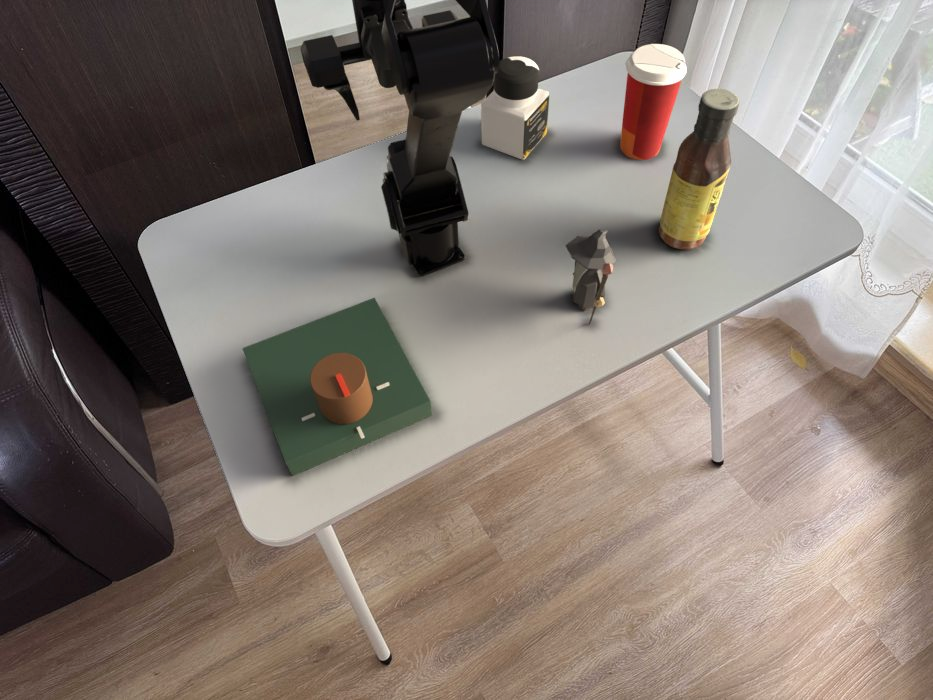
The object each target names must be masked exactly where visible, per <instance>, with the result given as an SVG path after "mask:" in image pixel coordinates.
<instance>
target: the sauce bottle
mask: <svg viewBox="0 0 933 700" xmlns="http://www.w3.org/2000/svg"><path fill="white" fill-rule="evenodd" d="M739 105H740V99H739V97H738V95H736V94H735V93H734V92H732V91H730V90H727V89H725V88H712V89H708V90H706V91H704V92H703V93H702V95H701V96H700V99H699V103H698V108H697V109H698V115H697V118H696V122H695V124H694V125H693V131H692V132H691V133H689V135H687V136H686V137H685V138H684V139H683V140H682V141H681V143H680V145H679V147H678V150H677V154H676V159H675V162H674V163H673V168H672V170H671V174H670V179H669V183H668V187H667V191H666V194H665V199H664V203H663V207H662V212H661V215H660V220H659V224H660V225H659V227H658V233H659V237H660V238H661V239H662V241H663V242H664V243H665V244H667V245H668V246H670V247H671V248H674V249H678V250H694V249H696V248H698V247H700V246H701V245H702V244H703V243H704V241H705V240H706V238H707V235H708V234H709V233H710V230H711V227H712V224H713V221H714V217H715V214H716V212H717V209H718V206H719V202H720V200H721V197H722V194H723V191H724V188H725V184H726V181H727V177H728V174H729V171H730V168H731V165H732V157H731V148H730V133H731V132H730V131H731V127H732V124H733V121H734V117H735V116H736V115H737V114H738V109H739Z"/></svg>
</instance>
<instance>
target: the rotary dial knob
mask: <svg viewBox="0 0 933 700" xmlns="http://www.w3.org/2000/svg"><path fill="white" fill-rule="evenodd" d="M310 383H311V387H312V389H313V392H314V394H315V397H316V400H317V402H318V405H319V407H320V410H321V412H322V414H323V416H324V417H325V418H326V419H328V420H329V421H331V422H333V423H336V424H350V423H354V422H356V421H358V420H360V419H361V418H363V417H364V416H365V415H366V414H367V413H368V411H369V410H370V408H371V405H372V400H373V398H372V392H371V388H370V385H369V381H368V377H367V373H366V369H365V366H364V364H363V363H362V361H361V360H360V359H359V358H357V357H356V356H354V355H351V354H347V353H335V354H331V355H328V356H326V357H324V358H323V359H321V360H320V361H319V362H318V363H317V364H316V365H315V366H314V368H313V370H312V372H311V375H310Z"/></svg>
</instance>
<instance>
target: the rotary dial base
mask: <svg viewBox="0 0 933 700" xmlns="http://www.w3.org/2000/svg"><path fill="white" fill-rule="evenodd" d="M242 351H243V355H244V357H245V360H246V362H247V366H248V369H249V370H250V373H251V375H252V378H253V382H254V383H255V387H256V389H257V392H258V394H259V397H260V400H261V402H262V405H263V407H264V410H265V413H266V416H267V418H268V421H269V423H270V426H271V428H272V432H273V435H274V437H275V439H276V442H277V445H278V447H279V450H280V452H281V456H282V458H283V461H284V463H285V465H286V467H287V469H288V471H289V473H290V475H291V476H292V477H294V476H296V475H298V474H300V473H303V472H305V471H307V470H311V469H312V468H315V467H316V466H319V465H321V464H324V463H326V462H328V461H330V460H334V459H335V458H337V457H339V456H342V455H344V454H346V453H349V452H352V451H353V450H356V449H358V448H360V447H362V446H365V445H368V444H370V443H372V442H374V441H376V440H379V439H381V438H384V437H385V436H386V437H387V436H389V435H391V434H393V433H396V432H397V431H400V430H402V429H405V428H407V427H409V426H412V425H414V424H416V423H418V422H421V421H423V420H425V419H427V418H429V417H432V416H433V409H432V402H431V398H430V397H429V395H428V394H427V391H426V390H425V388H424V386H423V384H422V382H421V381H420V379H419V377H418V375H417V373H416V371H415V369H414V368H413V366H412V364H411V363H410V360H409V358H408V357H407V354H406V353H405V352H404V350H403V348H402V345H401V344H400V342H399V340H398V338H397V336H396V334H395V333H394V331H393V329H392V327H391V325H390V323H389V322H388V319H387V318H386V316H385V314H384V313H383V311H382V308H381V307H380V305H379V303H378V301H377V299H376V298H375V297H372V298H370V299H367V300H365V301H362V302H360V303H359V302H358V303H356V304H354V305H351V306H349V307H347V308H343V309H341V310H338V311H336V312H333V313H330V314H327V315H325V316H323V317H320V318H318V319H315V320H312V321H310V322H307V323H304V324H302V325H299V326H297V327H293V328H291V329H289V330H286V331H284V332H280V333H278V334H276V335H273V336H271V337H267V338H265V339H263V340H259V341H258V342H255V343H252V344H250V345H248V346H247V345H246V346H244V347H242ZM335 353H347V354H351V355H354V356H356V357H357V358H359V359H360V360H361V361H362V363H363V364H364V366H365V369H366V373H367V377H368V381H369V385H370V388H371V392H372V398H373V400H372V405H371V408H370V410H369V411H368V413H367V414H366V415H365V416H364V417H363V418H361V419H360V420H358V421H356V422H354V423H350V424H336V423H333V422H331V421H329V420H328V419H326V418H325V417H324V416H323V414H322V412H321V410H320V407H319V405H318V402H317V400H316V397H315V394H314V392H313V389H312V387H311V383H310V375H311V372H312V370H313V368H314V366H315V365H316V364H317V363H318V362H319V361H320V360H321V359H323V358H324V357H326V356H328V355H331V354H335Z"/></svg>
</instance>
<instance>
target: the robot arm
mask: <svg viewBox="0 0 933 700" xmlns="http://www.w3.org/2000/svg"><path fill="white" fill-rule="evenodd" d="M351 2H352V8H353V14H354V21H355V26H356V27H355V28H356V32H357V39H358V42H354V43H350V44H345V45H341V46H338V45H337V43H336V41H335V39H334V36H333V34H329V35H325V36H321V37H316V38H310V39H307V40H303V41H302V44H301V45H300V52H301V57H302V61H303V64H304V67H305V70H306V73H307V76H308V78H309V81H310V83H311V86H312V87H314V88H317V89H319V88H324V89H325V91H333V90H334V91H336V92H337V93H338V94H339V96H341V98H342V99H343V100H344V102H345V104H346V105H347V107H348V109H349V110H350V112H351V113H352V115H353V117H354V119H355V121H360V120H361V118H360V111H359V108H358V105H357V102H356V100H355V97H354V94H353V91H352V88H351V83H350V80H349V78H348V76H347V73H346V69H345V66H349V65H354V64H357V63H362V62H366V61H371V62H372V63H371V64H372V66H373V68H374V71H375V74H376V77H377V80H378V84H379V85H380V87H382V88H385V89H392V88H395V87H396V90H397V92H398V94H399V95H400V96H404V99H405V103H406V106H407V109H408V116H407V123H406V124H407V125H406V126H407V127H406V134H405V139H400V140H397V141H393V142H390V143H389V145H388V146H387V156H386V159H387V163H386V171H385V172H383V174H382V175H383V178H382V184H381V186H380V188H381V193H382V197H383V201H384V204H385V208H386V212H387V217H388V223H389V226H390V229H391V230H394V231H396V232H397V233H398V237H399V244H400V250H401V251H400V252H401V254H402V256H403V257H404V259H405V261H406V262H407V264H408V265H409V266H412V267H413V269H414V271H415V273H416V274H417V276H418V277H424V276H427V275H429V274H433V273H434V272H438V271H441V270H443V269H446V268H448V267H450V266H453V265H457V264H458V263H461V262H463V261H465V259H466V254H464V252H463V250H462V249H461V248H460V240H459V239H460V238H459V223H461V222H467V221H468V220H469V208H468V205H467V200H466V198H465V197H466V196H465V193H464V189H463V187H462V186H463V185H462V181H461V178H460V174H459V170H458V166H457V163H456V161H455V158H454V157H453V156H452V155H451V153H452V149H453V145H454V142H455V138H456V135H457V131H458V128H459V124H460V120H461V116H462V113H463V112H464V110H467V109H468V108H470V107H472V106H473V105H475V104H477V103H478V102H480V101H482V100H483V99H484V98H485V97H487V94H488V93H489V92H490V90H491V88H492V87H493V86H494V79H495V73H497V72H498V69H499V61H500V52H499V47H498V42H497V38H496V35H495V30H494V27H493V24H492V19H491V16H490V11H489V8H488V5H487V0H455V2H456V3H457V4H458V5H459V6H460V7H461V8H462V10H464V11H465V13H466V14H467V15H468V16H469V17H463V18H458V16H457V15H456V14H455V13H454V12H453V11H452V10H450V9H449V10H443V11H440V12H435V13H429V14H425V15H422V18H421V27H416V28H414V27H413V25H412V23H411V21H410V18H409V12H408V8H407V3H406V1H405V0H352V1H351Z"/></svg>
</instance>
